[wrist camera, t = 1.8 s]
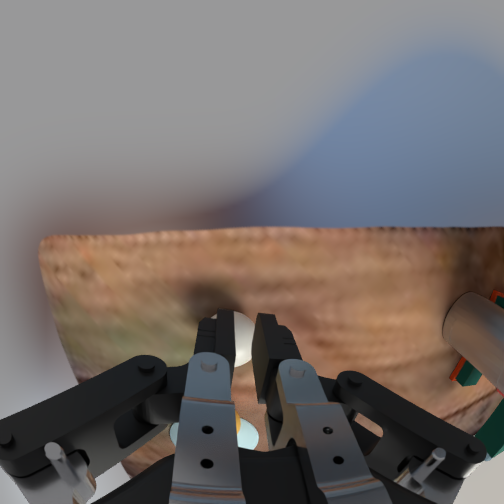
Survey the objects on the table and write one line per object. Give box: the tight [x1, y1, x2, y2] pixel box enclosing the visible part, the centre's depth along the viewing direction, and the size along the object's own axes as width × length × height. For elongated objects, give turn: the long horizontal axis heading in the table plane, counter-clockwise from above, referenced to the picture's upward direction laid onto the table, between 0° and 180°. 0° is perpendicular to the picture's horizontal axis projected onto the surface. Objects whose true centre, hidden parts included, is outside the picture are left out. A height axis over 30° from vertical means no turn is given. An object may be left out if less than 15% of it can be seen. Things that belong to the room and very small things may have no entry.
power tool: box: [450, 290, 504, 461], centre depth 29 cm, size 32×7×20 cm, turn 164°
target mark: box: [170, 418, 259, 450], centre depth 37 cm, size 14×14×1 cm
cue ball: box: [211, 311, 255, 367], centre depth 28 cm, size 6×6×6 cm
